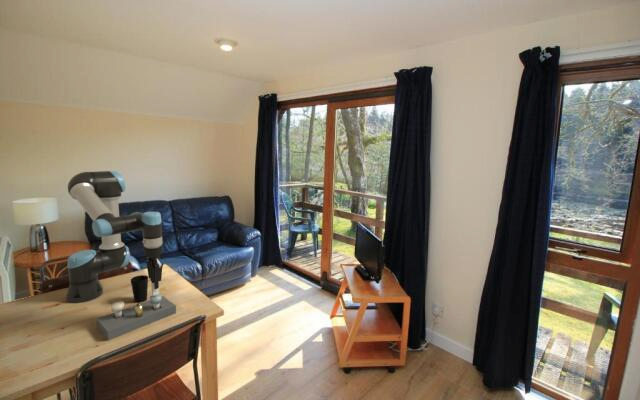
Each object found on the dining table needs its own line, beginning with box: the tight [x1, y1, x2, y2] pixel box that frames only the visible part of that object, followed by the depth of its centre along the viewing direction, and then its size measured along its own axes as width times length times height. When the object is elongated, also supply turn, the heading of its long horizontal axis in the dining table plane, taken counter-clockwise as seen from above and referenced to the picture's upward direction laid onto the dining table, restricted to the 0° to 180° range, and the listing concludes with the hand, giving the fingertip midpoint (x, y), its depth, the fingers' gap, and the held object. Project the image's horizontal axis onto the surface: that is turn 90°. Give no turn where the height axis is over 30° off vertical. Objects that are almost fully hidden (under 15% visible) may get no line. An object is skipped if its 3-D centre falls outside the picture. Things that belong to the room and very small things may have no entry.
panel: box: [96, 295, 177, 341], centre depth 138 cm, size 14×28×4 cm, turn 142°
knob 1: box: [110, 301, 125, 319], centre depth 133 cm, size 5×5×6 cm
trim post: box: [134, 302, 143, 318], centre depth 134 cm, size 3×3×6 cm
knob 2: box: [149, 293, 163, 310], centre depth 141 cm, size 5×5×6 cm
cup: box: [130, 274, 149, 304], centre depth 154 cm, size 8×8×12 cm
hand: (155, 294), depth 140 cm, fingers closed
